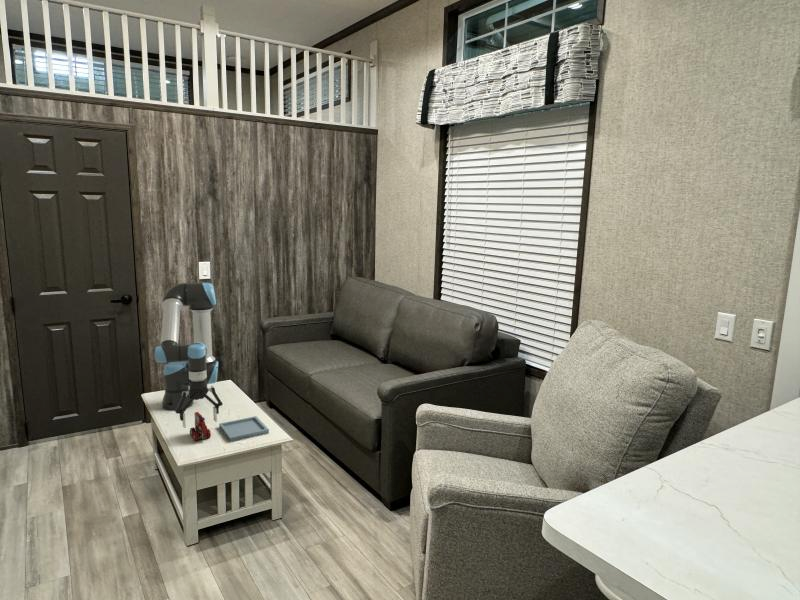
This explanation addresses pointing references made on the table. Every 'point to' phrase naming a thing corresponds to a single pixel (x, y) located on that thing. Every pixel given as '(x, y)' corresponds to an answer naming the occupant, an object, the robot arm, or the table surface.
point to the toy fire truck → (200, 428)
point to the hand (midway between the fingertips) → (200, 423)
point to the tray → (243, 428)
